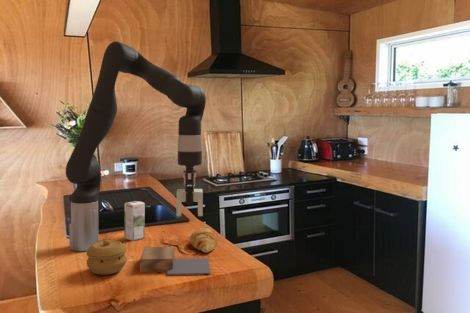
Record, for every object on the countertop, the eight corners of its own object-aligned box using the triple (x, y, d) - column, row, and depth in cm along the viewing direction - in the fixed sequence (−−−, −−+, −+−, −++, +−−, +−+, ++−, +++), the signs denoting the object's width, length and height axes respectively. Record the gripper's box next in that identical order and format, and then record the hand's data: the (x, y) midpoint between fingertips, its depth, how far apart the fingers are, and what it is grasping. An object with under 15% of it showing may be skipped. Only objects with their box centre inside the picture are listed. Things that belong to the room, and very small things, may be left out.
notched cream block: (202, 216, 120) (202, 192, 119) (176, 216, 119) (176, 192, 119) (202, 211, 126) (202, 188, 125) (177, 211, 125) (177, 189, 124)
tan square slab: (139, 272, 119) (139, 259, 119) (144, 258, 131) (144, 247, 131) (172, 271, 120) (172, 258, 120) (174, 258, 132) (174, 246, 132)
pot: (130, 264, 125) (130, 234, 124) (121, 279, 114) (121, 246, 113) (94, 264, 125) (93, 234, 124) (80, 279, 113) (80, 245, 112)
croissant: (214, 264, 137) (225, 244, 137) (189, 252, 135) (200, 232, 135) (206, 244, 158) (215, 227, 158) (184, 234, 155) (193, 216, 155)
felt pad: (166, 275, 117) (166, 273, 117) (169, 260, 130) (169, 258, 130) (210, 274, 118) (210, 272, 118) (208, 259, 131) (208, 258, 131)
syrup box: (136, 235, 158) (135, 200, 157) (145, 238, 155) (145, 202, 153) (124, 238, 154) (123, 202, 153) (133, 241, 150) (132, 204, 149)
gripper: (202, 151, 114) (202, 207, 116) (201, 148, 128) (201, 198, 130) (176, 151, 113) (176, 207, 115) (178, 148, 128) (178, 198, 129)
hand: (189, 202), depth 122 cm, fingers closed on notched cream block, 6 cm apart
